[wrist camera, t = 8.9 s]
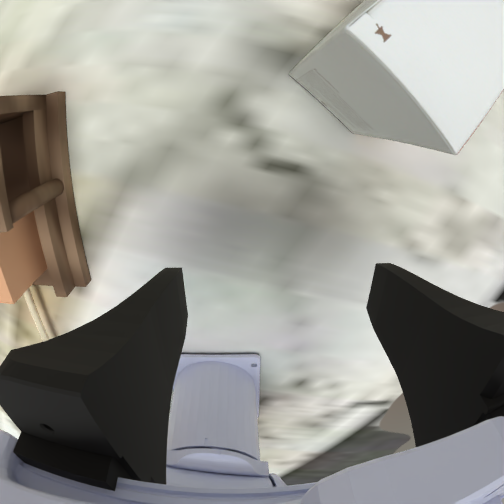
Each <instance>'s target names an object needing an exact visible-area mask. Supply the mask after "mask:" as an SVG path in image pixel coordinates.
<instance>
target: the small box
mask: <svg viewBox="0 0 504 504" xmlns="http://www.w3.org/2000/svg"><path fill="white" fill-rule="evenodd" d="M289 75H290V76H291V77H292V78H294V79H295V80H296V81H297V82H298V83H300V84H301V85H302V86H303V87H304V88H305V89H306V90H308V91H309V92H310V93H311V94H312V95H313V96H314V97H315V98H316V99H318V100H319V101H320V102H321V103H322V104H323V105H324V106H325V107H326V108H327V109H328V110H329V111H330V112H332V113H333V114H334V115H335V116H336V117H337V118H338V119H339V120H340V121H341V122H342V123H343V124H344V125H345V126H346V127H347V128H348V129H349V130H350V131H351V132H352V133H354V134H360V135H366V136H372V137H377V138H383V139H388V140H393V141H398V142H403V143H407V144H412V145H416V146H420V147H424V148H429V149H433V150H437V151H441V152H445V153H449V154H453V155H457V154H458V153H459V152H460V150H461V149H462V148H463V146H464V145H465V144H466V142H467V141H468V140H469V138H470V137H471V136H472V134H473V133H474V132H475V130H476V129H477V128H478V126H479V125H480V123H481V122H482V121H483V119H484V118H485V116H486V115H487V113H488V112H489V111H490V109H491V108H492V106H493V105H494V103H495V102H496V100H497V99H498V97H499V96H500V94H501V93H502V91H503V90H504V1H503V0H365V1H363V2H362V3H361V4H360V5H359V6H358V7H357V8H356V9H354V10H353V11H352V12H351V13H350V14H349V15H348V16H347V17H346V18H345V19H343V20H342V21H341V22H340V23H339V24H338V25H337V26H336V27H335V28H334V29H333V30H332V31H331V32H330V33H329V34H328V35H326V36H325V37H324V38H323V39H322V40H321V41H320V42H319V43H318V44H317V45H316V46H315V47H314V48H313V49H312V50H311V51H310V52H309V53H308V54H307V55H306V56H305V57H304V58H303V59H302V60H301V61H300V62H299V63H298V64H297V65H296V66H295V67H294V68H293V70H292V71H291V72H290V73H289Z"/></svg>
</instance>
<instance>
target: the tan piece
mask: <svg viewBox="0 0 504 504" xmlns="http://www.w3.org/2000/svg"><path fill="white" fill-rule="evenodd" d="M13 227H14V228H12V229H11V230H9V231H8V232H1V233H0V303H8V304H14V303H15V302H16V301H17V300H18V299H19V298H20V297H21V296H22V295H24V297H25V300H26V303H27V305H28V308H29V310H30V313H31V315H32V318H33V320H34V323H35V325H36V327H37V329H38V332H39V334H40V336H41V338H42V341H43V342H44V341H47V340H50V339H49V337H48V335H47V333H46V330H45V328H44V326H43V323H42V321H41V318H40V316H39V313H38V311H37V308H36V306H35V303H34V300H33V297H32V295H31V292H30V289H29V287H30V286H31V285H32V284H33V283H34V282H35V281H36V280H37V279H38V278H39V277H40V276H41V275H42V274H43V272H44V271H45V270H46V269H47V264H46V261H45V257H44V253H43V249H42V245H41V241H40V237H39V233H38V228H37V224H36V219H35V214H34V211H32V212H31V213H29V214H27V215H26V216H24V217H23V218H21V219H19V220H18V221H16V222H15V223H13Z"/></svg>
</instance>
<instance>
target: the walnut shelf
mask: <svg viewBox="0 0 504 504" xmlns="http://www.w3.org/2000/svg"><path fill="white" fill-rule="evenodd" d="M32 211H34V214H35V219H36V224H37V228H38V233H39V237H40V241H41V245H42V249H43V253H44V257H45V261H46V264H47V269H46V270H45V271H44V272H43V274H42V275H41V276H40V277H39V278H38V279H37V280H36V281H35V282H34V283H33V284H32V285H51V286H53V287H54V290H55V294H56V296H57V297H67V296H68V295H69V294H70V292H71V291H72V290H73V289H74V287H75V286H80V287H86V286H87V285H88V283H89V282H90V281H91V278H90V274H89V270H88V266H87V262H86V258H85V253H84V249H83V244H82V239H81V234H80V229H79V224H78V219H77V213H76V207H75V201H74V195H73V188H72V180H71V172H70V164H69V154H68V142H67V128H66V106H65V92H54V93H51V94H47V95H16V96H0V233H1V232H8V231H9V230H11V229H12V228H14V227H13V223H15V222H16V221H18V220H19V219H21V218H23V217H24V216H26V215H27V214H29V213H31V212H32Z"/></svg>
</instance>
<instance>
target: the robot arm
mask: <svg viewBox="0 0 504 504" xmlns="http://www.w3.org/2000/svg"><path fill="white" fill-rule="evenodd" d="M366 308H367V311H368V314H369V318H370V321H371V323H372V326H373V329H374V331H375V333H376V335H377V337H378V339H379V341H380V343H381V344H382V346H383V348H384V350H385V352H386V354H387V356H388V358H389V360H390V362H391V364H392V366H393V368H394V370H395V372H396V374H397V377H398V379H399V382H400V385H401V388H402V391H403V394H404V397H405V400H406V404H407V407H408V411H409V415H410V418H411V423H412V428H413V433H414V438H415V443H416V448H413V449H409V450H406V451H402V452H399V453H395V454H392V455H388V456H384V457H380V458H377V459H374V460H371V461H368V462H365V463H361V464H358V465H355V466H351V467H348V468H346V469H344V470H341V471H339V472H337V473H335V474H333V475H330V476H328V477H326V478H323V479H321V480H320V481H319V482H315V483H308V484H299V485H290V486H286V484H285V483H284V482H283V481H282V479H281V478H280V477H279V476H278V475H276V474H269V469H268V462H266V461H260V449H259V435H258V421H257V418H258V417H259V391H260V356H259V355H257V354H238V355H196V354H181V352H182V348H183V344H184V340H185V335H186V327H187V318H188V312H187V305H186V297H185V289H184V281H183V273H182V268H165V269H163V270H162V271H161V272H159V273H158V274H157V275H156V276H154V277H153V278H152V279H151V280H150V281H148V282H147V283H146V284H145V285H144V286H142V287H141V288H140V289H139V290H137V291H136V292H135V293H134V294H132V295H131V296H130V297H128V298H127V299H125V300H124V301H123V302H121V303H120V304H119V305H117V306H116V307H114V308H113V309H111V310H110V311H108V312H107V313H105V314H103V315H102V316H100V317H98V318H97V319H95V320H93V321H91V322H89V323H87V324H85V325H83V326H81V327H79V328H77V329H75V330H73V331H70V332H68V333H66V334H63V335H61V336H58V337H55V338H53V339H50V340H47V341H44V342H41V343H37V344H34V345H30V346H26V347H22V348H18V349H14V350H11V351H10V352H9V354H8V355H7V357H6V358H5V360H4V361H3V363H2V364H1V366H0V405H1V407H2V408H3V409H4V411H5V412H6V413H7V414H8V416H9V417H10V418H11V420H12V421H13V422H14V423H15V424H16V426H17V427H18V428H19V429H20V430H21V434H20V437H19V439H17V438H15V437H14V436H12V435H11V434H9V433H7V432H5V431H3V430H0V504H503V503H502V501H501V499H503V498H504V312H500V311H497V310H493V309H490V308H487V307H484V306H481V305H478V304H475V303H473V302H470V301H468V300H465V299H463V298H460V297H458V296H456V295H454V294H452V293H449V292H447V291H445V290H443V289H441V288H439V287H437V286H435V285H433V284H432V283H430V282H428V281H426V280H424V279H422V278H420V277H418V276H416V275H415V274H413V273H411V272H409V271H407V270H405V269H403V268H401V267H398V266H396V265H394V264H391V263H380V264H376V266H375V271H374V276H373V280H372V285H371V290H370V294H369V299H368V303H367V307H366ZM253 363H256V364H253ZM172 389H173V392H174V393H173V399H172V404H171V410H170V403H171V394H172ZM169 412H170V416H169Z"/></svg>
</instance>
